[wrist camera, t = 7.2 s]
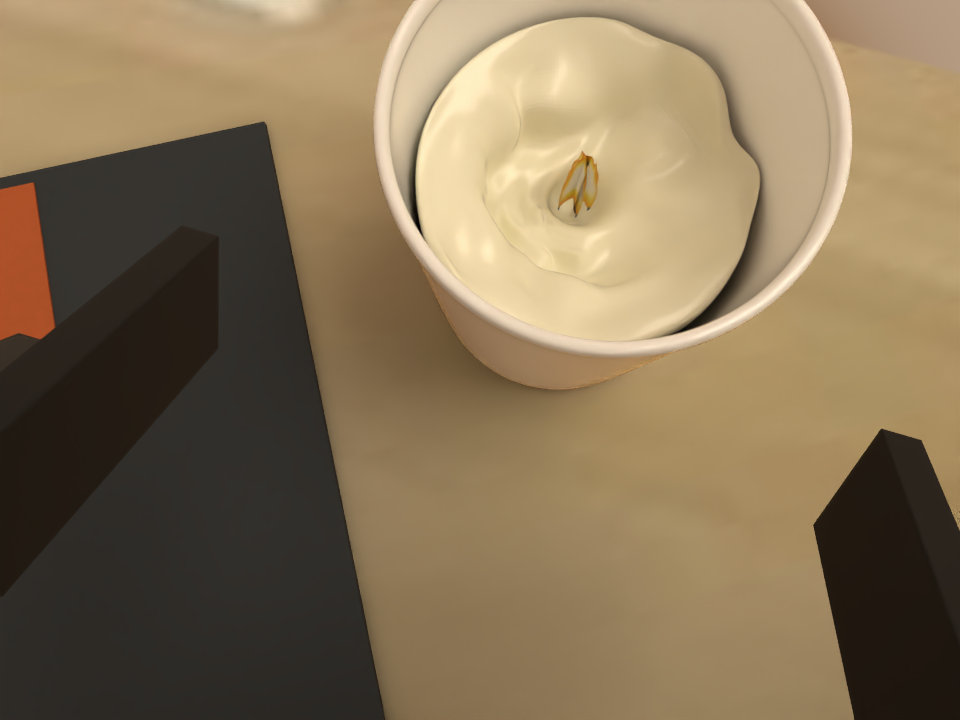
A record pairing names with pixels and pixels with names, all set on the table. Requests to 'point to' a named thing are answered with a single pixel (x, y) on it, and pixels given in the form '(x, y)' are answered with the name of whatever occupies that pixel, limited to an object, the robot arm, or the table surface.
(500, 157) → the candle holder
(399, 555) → the table surface
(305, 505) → the desk mat
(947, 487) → the table surface
